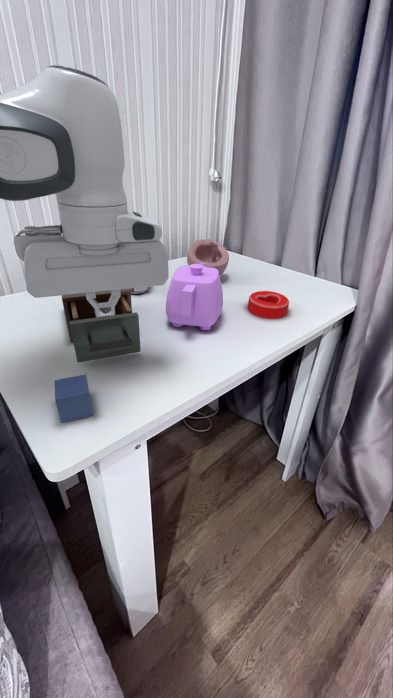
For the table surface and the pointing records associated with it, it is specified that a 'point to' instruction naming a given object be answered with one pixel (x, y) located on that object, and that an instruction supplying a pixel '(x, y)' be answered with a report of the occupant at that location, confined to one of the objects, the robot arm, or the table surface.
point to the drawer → (104, 331)
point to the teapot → (194, 296)
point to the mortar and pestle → (208, 254)
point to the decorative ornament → (268, 304)
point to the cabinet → (81, 296)
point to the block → (72, 398)
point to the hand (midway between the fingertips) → (105, 315)
